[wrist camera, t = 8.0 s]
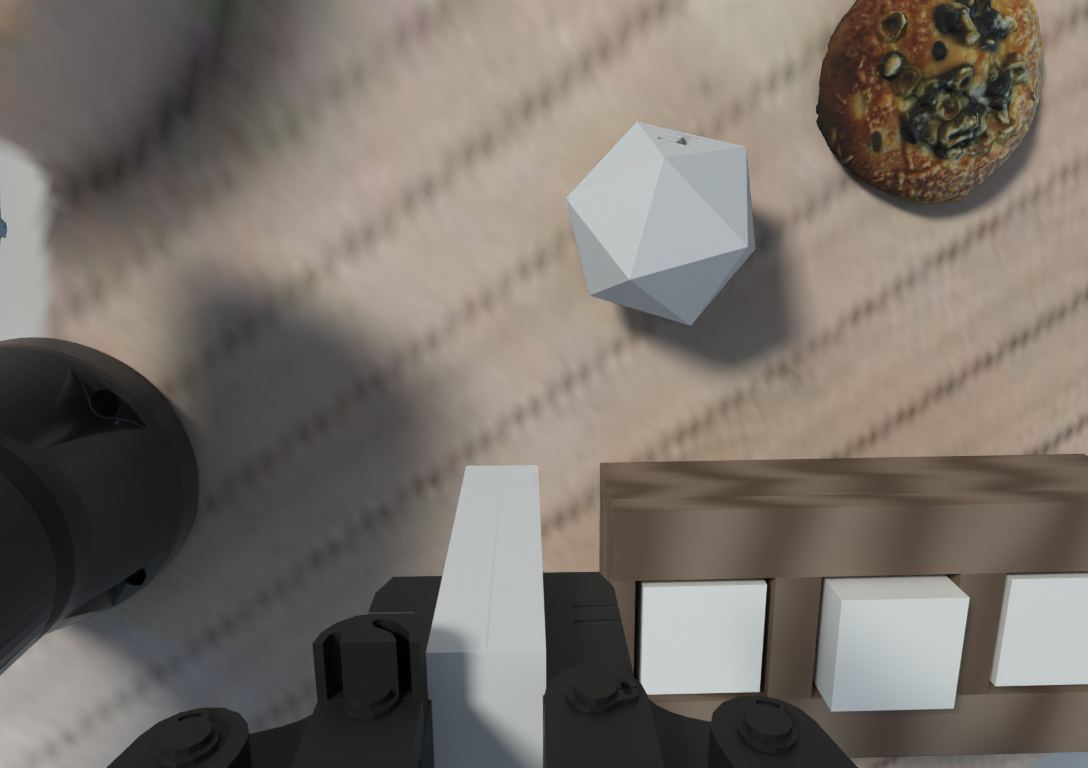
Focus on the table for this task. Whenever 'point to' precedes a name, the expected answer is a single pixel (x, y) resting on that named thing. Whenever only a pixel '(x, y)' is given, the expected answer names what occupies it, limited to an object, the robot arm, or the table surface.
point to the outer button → (1042, 630)
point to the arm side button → (699, 635)
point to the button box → (862, 573)
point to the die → (664, 221)
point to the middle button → (889, 642)
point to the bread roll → (930, 92)
